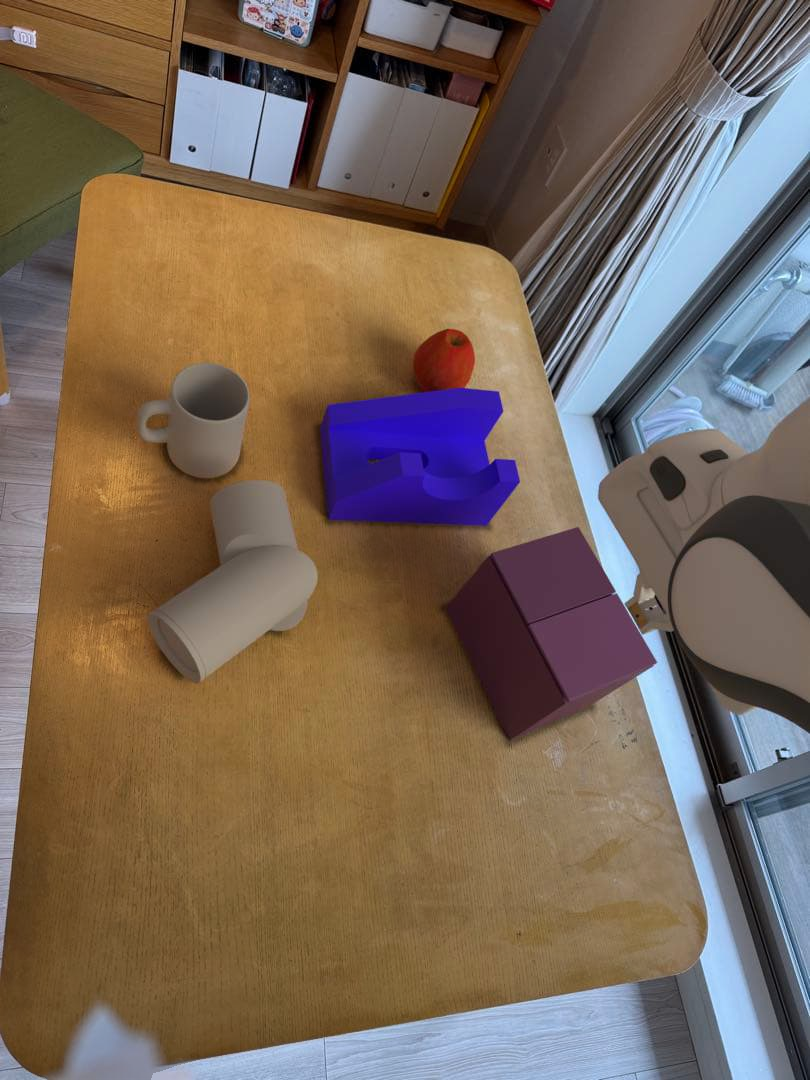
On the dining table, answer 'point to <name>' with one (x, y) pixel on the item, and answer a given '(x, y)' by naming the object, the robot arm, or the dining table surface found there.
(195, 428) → the mug
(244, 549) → the elbow connector
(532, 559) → the carton
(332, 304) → the dining table surface
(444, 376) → the apple
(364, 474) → the bracket
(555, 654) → the flap
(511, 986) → the dining table surface
